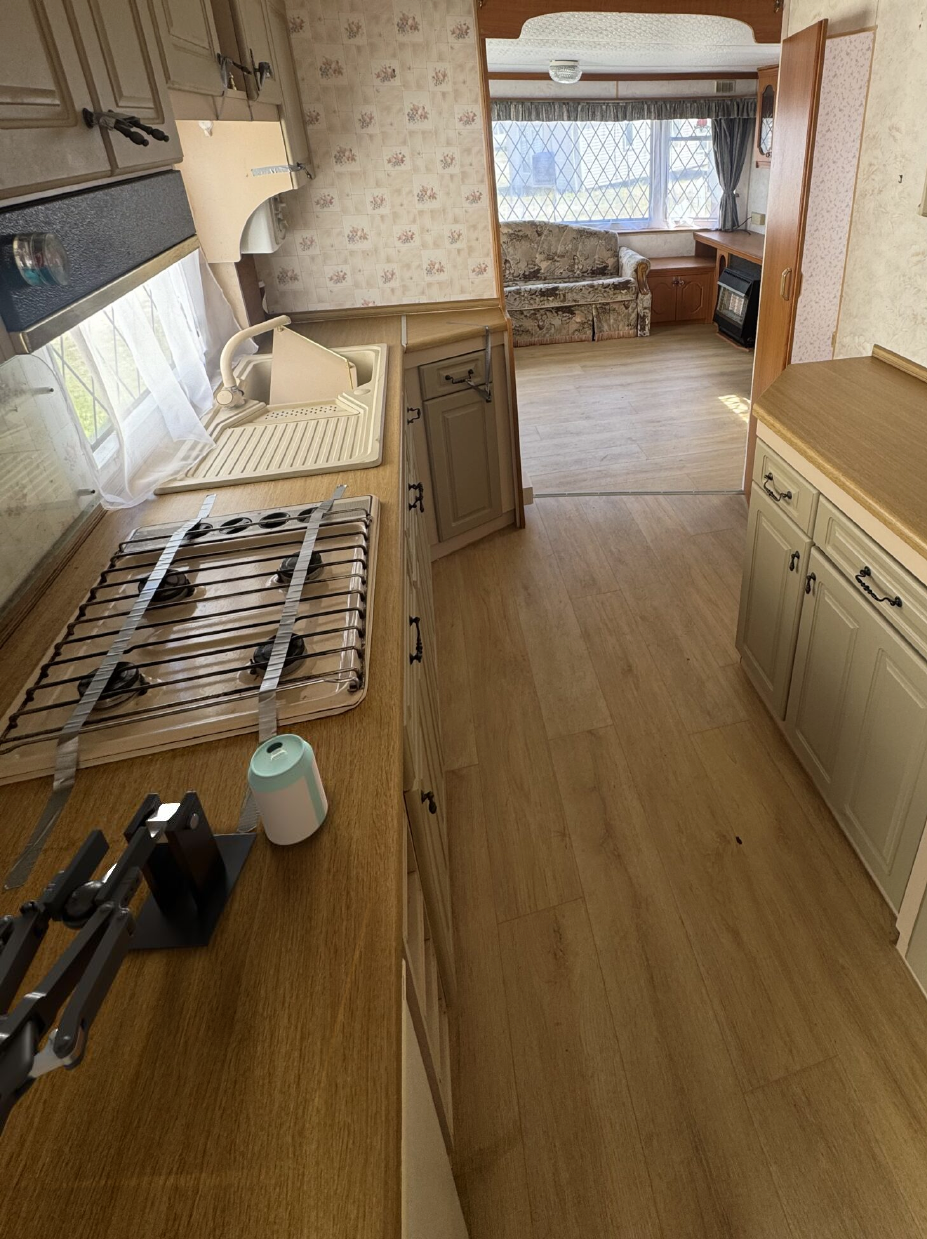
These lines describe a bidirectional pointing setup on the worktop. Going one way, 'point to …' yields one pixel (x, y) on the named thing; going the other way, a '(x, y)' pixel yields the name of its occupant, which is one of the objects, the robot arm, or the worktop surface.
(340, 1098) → the worktop surface
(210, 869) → the lever stand
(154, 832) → the tap lever
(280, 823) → the can
